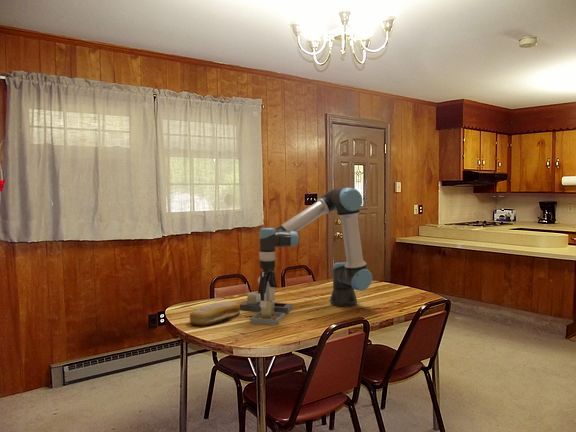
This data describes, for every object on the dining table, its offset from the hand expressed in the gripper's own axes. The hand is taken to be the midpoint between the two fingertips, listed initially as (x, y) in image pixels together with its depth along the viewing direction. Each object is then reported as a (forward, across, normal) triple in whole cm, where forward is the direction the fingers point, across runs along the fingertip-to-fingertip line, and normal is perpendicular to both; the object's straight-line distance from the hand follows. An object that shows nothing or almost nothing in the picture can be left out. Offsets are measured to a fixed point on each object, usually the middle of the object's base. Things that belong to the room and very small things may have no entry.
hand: (267, 303), depth 213 cm
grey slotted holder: (+8, -15, -6) cm, 18 cm away
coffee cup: (+8, -30, -11) cm, 33 cm away
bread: (+9, +6, -24) cm, 27 cm away
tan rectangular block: (+7, 0, 0) cm, 7 cm away
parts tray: (+8, 0, 0) cm, 8 cm away
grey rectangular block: (+7, -15, -13) cm, 21 cm away
